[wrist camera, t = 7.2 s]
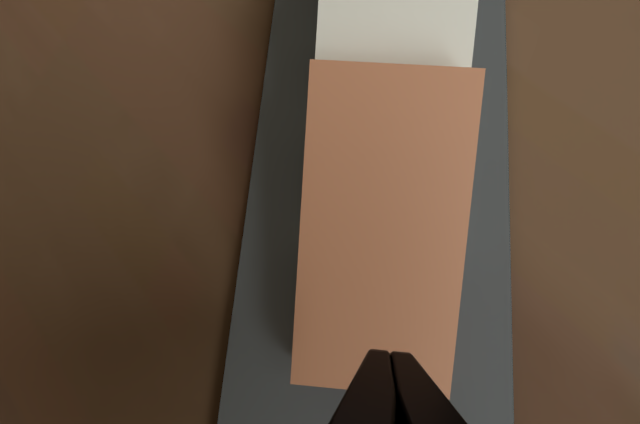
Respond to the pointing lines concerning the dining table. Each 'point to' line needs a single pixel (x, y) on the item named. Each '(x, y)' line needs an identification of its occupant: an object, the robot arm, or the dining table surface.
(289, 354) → the mat
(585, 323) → the dining table surface
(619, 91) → the dining table surface
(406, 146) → the domino
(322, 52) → the domino
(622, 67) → the dining table surface
